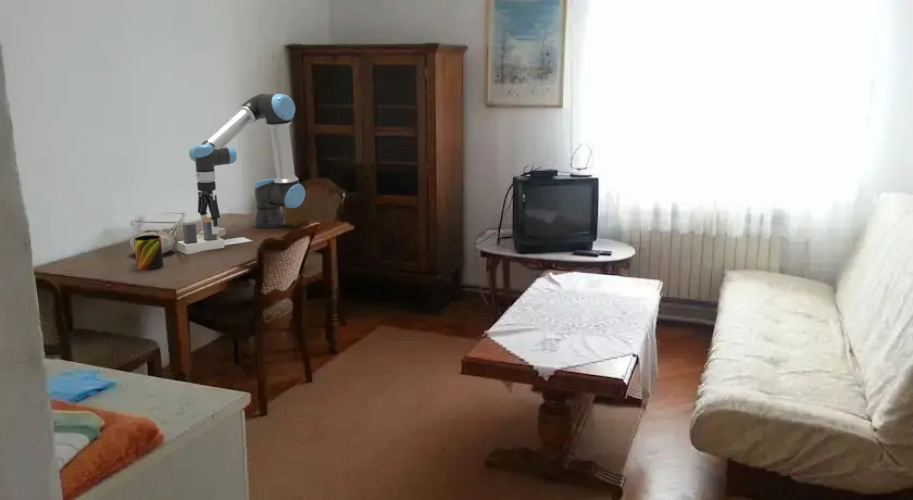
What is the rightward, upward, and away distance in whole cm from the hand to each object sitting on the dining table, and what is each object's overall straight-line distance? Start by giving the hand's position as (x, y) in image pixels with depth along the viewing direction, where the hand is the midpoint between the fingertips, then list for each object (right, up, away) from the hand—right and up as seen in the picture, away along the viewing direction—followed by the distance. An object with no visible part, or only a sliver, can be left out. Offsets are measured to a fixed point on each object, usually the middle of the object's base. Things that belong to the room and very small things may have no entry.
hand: (210, 231), depth 339 cm
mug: (-16, -15, -29) cm, 36 cm away
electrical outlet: (-7, -4, +18) cm, 20 cm away
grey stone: (-21, -10, -8) cm, 25 cm away
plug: (0, -5, +1) cm, 5 cm away
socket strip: (-3, -8, -1) cm, 9 cm away
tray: (+6, -4, +12) cm, 15 cm away
